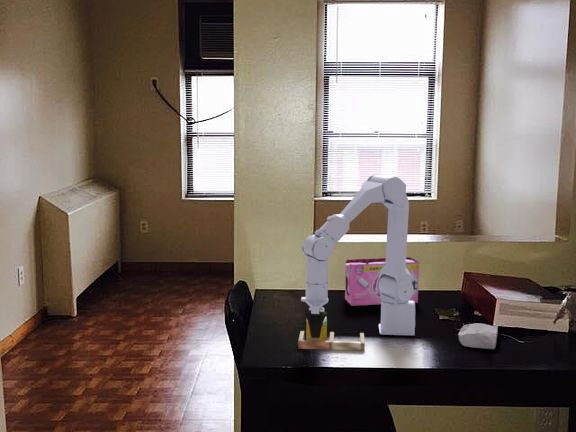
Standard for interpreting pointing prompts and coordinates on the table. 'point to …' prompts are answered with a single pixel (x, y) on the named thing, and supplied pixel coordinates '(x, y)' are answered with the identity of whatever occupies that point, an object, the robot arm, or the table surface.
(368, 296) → the gum box
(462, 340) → the stone block
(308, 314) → the robot arm
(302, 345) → the e-shaped wooden frame
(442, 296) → the table surface
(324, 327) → the supplement bottle
